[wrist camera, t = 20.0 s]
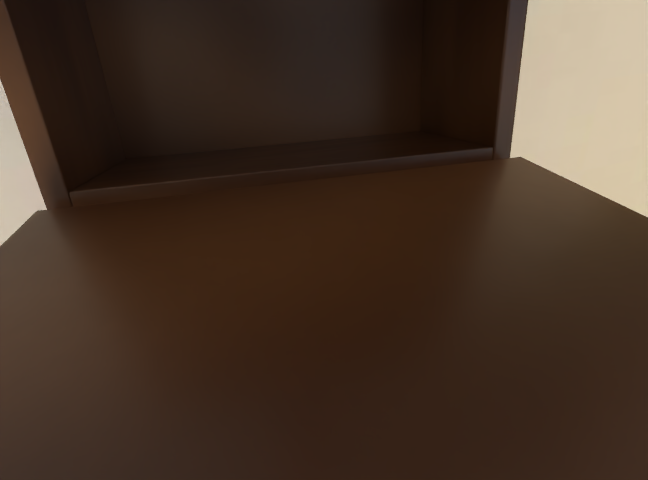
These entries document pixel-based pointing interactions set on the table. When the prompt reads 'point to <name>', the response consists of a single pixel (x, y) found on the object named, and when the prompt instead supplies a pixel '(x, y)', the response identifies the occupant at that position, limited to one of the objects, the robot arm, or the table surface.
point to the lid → (331, 332)
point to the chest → (254, 90)
